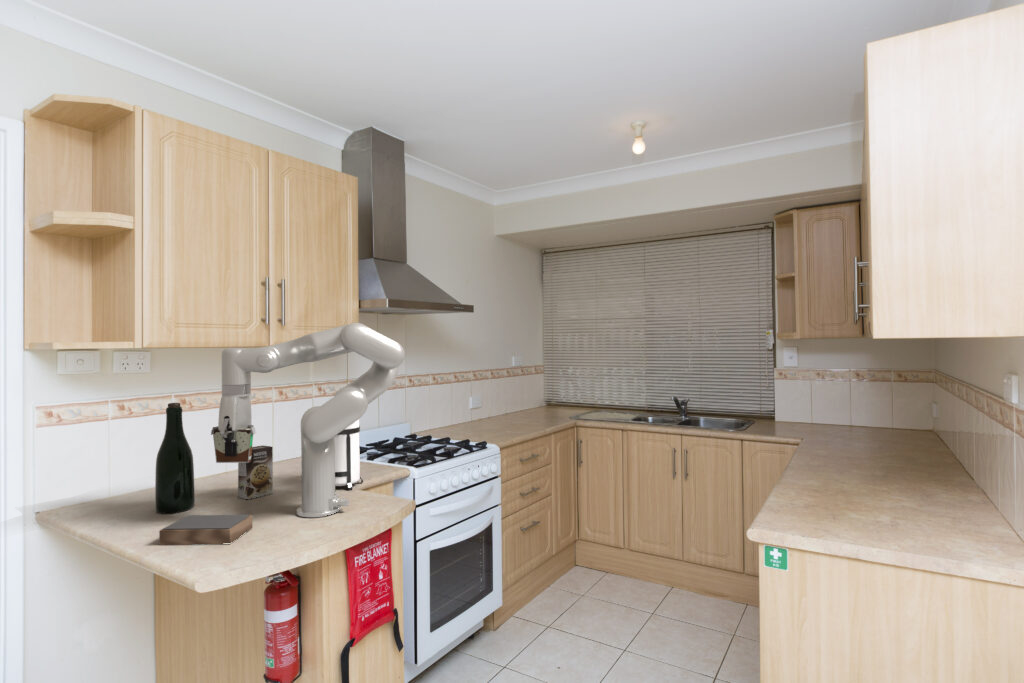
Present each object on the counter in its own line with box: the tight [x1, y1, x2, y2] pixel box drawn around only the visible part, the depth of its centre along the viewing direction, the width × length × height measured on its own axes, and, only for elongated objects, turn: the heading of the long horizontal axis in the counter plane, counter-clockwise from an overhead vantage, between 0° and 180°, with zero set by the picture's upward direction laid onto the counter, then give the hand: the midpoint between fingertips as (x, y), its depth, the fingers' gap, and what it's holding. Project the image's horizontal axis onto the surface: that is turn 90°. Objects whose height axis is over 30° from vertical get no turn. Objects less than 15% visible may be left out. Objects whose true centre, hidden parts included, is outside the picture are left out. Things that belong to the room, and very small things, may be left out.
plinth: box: [158, 514, 253, 546], centre depth 148 cm, size 18×12×4 cm, turn 89°
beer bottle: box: [154, 402, 196, 514], centre depth 173 cm, size 10×10×33 cm
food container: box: [210, 424, 257, 464], centre depth 161 cm, size 12×6×10 cm, turn 87°
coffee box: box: [237, 445, 274, 500], centre depth 188 cm, size 9×6×16 cm
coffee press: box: [334, 417, 364, 491], centre depth 197 cm, size 17×16×30 cm
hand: (236, 453), depth 161 cm, fingers closed on food container, 5 cm apart
